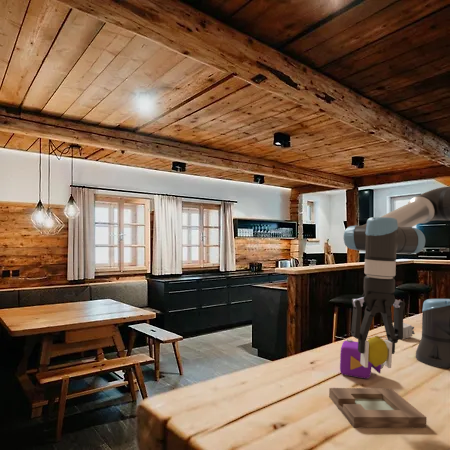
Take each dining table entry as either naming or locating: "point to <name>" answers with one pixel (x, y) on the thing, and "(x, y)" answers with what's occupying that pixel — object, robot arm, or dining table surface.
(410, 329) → the electrical component
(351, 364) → the toy camera
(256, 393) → the dining table surface
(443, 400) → the dining table surface
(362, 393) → the pocket board
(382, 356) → the lemon
